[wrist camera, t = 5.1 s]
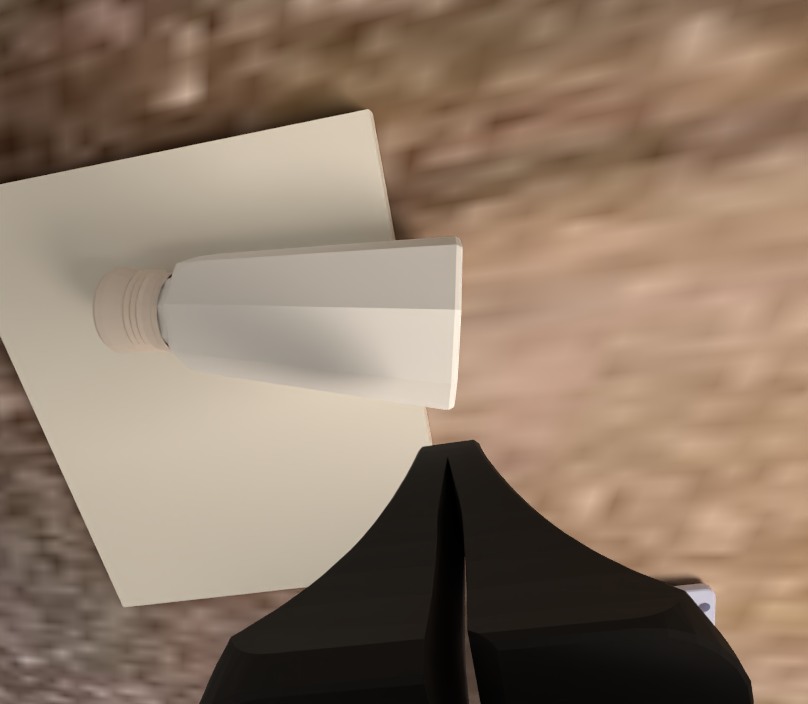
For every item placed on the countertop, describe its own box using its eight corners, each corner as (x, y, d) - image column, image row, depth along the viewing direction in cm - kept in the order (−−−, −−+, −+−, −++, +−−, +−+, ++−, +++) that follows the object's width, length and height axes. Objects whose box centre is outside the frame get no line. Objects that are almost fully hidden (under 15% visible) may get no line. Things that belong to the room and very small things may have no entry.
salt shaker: (453, 334, 20) (176, 323, 20) (462, 200, 16) (125, 194, 17) (452, 446, 15) (107, 428, 16) (463, 302, 12) (19, 287, 13)
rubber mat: (451, 551, 23) (453, 571, 21) (137, 586, 24) (123, 607, 23) (373, 113, 17) (368, 109, 16) (-33, 195, 18) (-63, 197, 17)
